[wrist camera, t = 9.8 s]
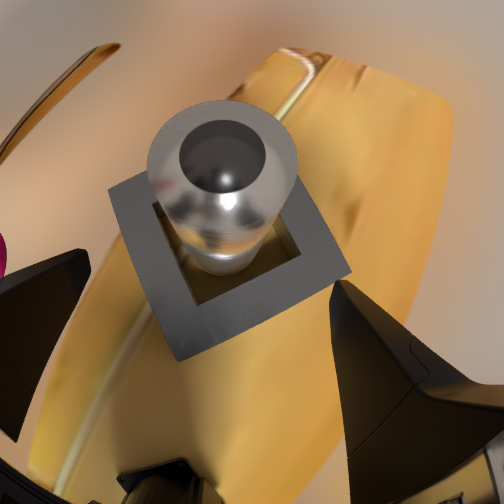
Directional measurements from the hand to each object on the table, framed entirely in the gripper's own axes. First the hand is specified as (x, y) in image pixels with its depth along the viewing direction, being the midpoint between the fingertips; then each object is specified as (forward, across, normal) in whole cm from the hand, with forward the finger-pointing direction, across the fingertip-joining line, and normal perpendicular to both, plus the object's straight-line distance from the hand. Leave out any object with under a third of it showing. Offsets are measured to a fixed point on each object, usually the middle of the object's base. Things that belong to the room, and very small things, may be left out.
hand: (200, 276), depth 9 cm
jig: (+10, 0, +3) cm, 10 cm away
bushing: (+10, +1, +4) cm, 10 cm away
